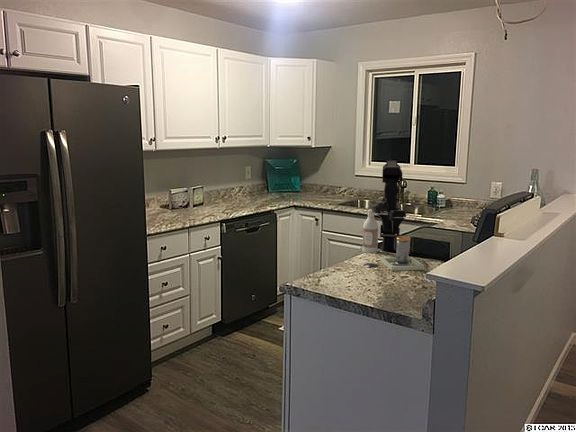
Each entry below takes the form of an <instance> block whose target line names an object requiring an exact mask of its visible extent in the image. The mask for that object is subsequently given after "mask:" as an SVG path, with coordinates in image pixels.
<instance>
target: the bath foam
mask: <svg viewBox="0 0 576 432" xmlns="http://www.w3.org/2000/svg"><path fill="white" fill-rule="evenodd" d="M362 226H363V227H362V251H363V253H365V254H366V253H368V254H374V253H378V243H379V241H378V240H379V224H378V221H377V220H376V218H375V213H373V212H372V209H371V208H370V209H367V218H366V220H365V221H364V222H363V225H362Z"/></svg>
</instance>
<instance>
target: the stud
mask: <svg viewBox="0 0 576 432" xmlns="http://www.w3.org/2000/svg"><path fill="white" fill-rule="evenodd" d="M363 267H365V268H370V269H372V268H373V269H374V268H375V269H376V268H378V267H379V264H377V263H372V262H371V263H370V262H368V263H364V264H363Z"/></svg>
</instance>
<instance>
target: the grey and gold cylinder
mask: <svg viewBox="0 0 576 432" xmlns="http://www.w3.org/2000/svg"><path fill="white" fill-rule="evenodd" d="M395 241H396V250H395V251H396V253H395V254H396V255H395V257H396V261H394V266H410V261H408V258H409V257H410V256H409V255H410V254H409V253H410V241H411V237H410V236H408V235H399V236H397V237H396V238H395Z"/></svg>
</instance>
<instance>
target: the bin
mask: <svg viewBox="0 0 576 432" xmlns="http://www.w3.org/2000/svg"><path fill="white" fill-rule="evenodd" d="M380 260H381V261H380V262H382V263H383V264H384V265H385V267H386V268H388V269H389V270H390V271H419V270H421V271H422V270H423V271H424V270H425V265H424V264H423V263H421V262H420V261H419V260H417V259H415V258H414V257H412V256H409V258H408V262H411V263H413V264H414V265H409V266H395V265H392V264H391V263H392V262H395V261H396V256H395V257H381V258H380ZM390 262H391V263H390Z"/></svg>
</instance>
